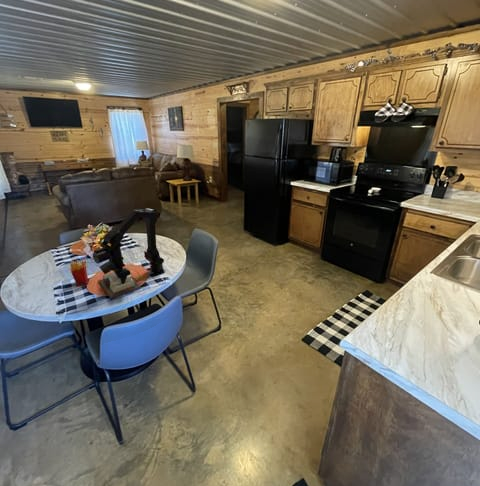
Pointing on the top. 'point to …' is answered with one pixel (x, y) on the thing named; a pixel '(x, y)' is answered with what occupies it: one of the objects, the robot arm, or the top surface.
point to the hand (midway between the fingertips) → (121, 281)
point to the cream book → (118, 280)
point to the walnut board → (119, 293)
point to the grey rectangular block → (107, 276)
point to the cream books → (121, 286)
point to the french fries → (79, 272)
